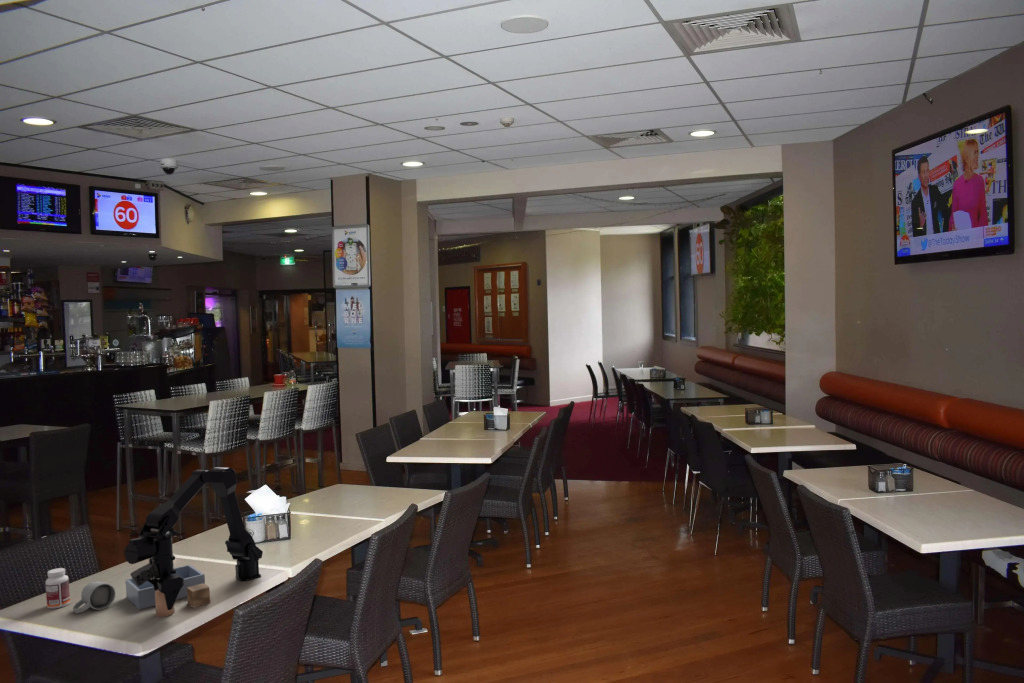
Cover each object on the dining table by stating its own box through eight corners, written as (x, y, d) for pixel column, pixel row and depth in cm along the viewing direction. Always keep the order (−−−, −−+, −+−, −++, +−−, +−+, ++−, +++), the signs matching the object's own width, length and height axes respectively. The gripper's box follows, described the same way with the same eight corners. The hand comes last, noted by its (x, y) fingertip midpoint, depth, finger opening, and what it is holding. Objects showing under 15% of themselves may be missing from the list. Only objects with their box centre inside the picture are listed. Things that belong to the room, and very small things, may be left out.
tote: (190, 580, 246) (189, 564, 245) (205, 591, 235) (204, 574, 234) (126, 597, 233) (125, 579, 233) (138, 609, 222) (137, 591, 222)
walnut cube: (204, 599, 228) (203, 583, 228) (210, 603, 225) (209, 587, 225) (187, 603, 225) (187, 587, 225) (193, 607, 221) (192, 591, 221)
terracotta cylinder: (171, 608, 221) (170, 585, 221) (176, 613, 217) (175, 589, 217) (153, 613, 218) (152, 590, 218) (158, 618, 214) (157, 594, 214)
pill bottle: (66, 600, 232) (64, 565, 232) (73, 604, 228) (70, 569, 228) (44, 606, 228) (42, 571, 228) (50, 610, 224) (48, 575, 223)
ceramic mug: (105, 599, 231) (103, 575, 231) (116, 605, 226) (114, 580, 226) (68, 611, 223) (66, 586, 223) (79, 617, 218) (77, 591, 218)
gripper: (124, 553, 219) (127, 605, 219) (141, 567, 205) (144, 622, 205) (163, 544, 226) (166, 594, 227) (183, 557, 212) (186, 611, 213)
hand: (165, 605), depth 218 cm, fingers open, 9 cm apart
